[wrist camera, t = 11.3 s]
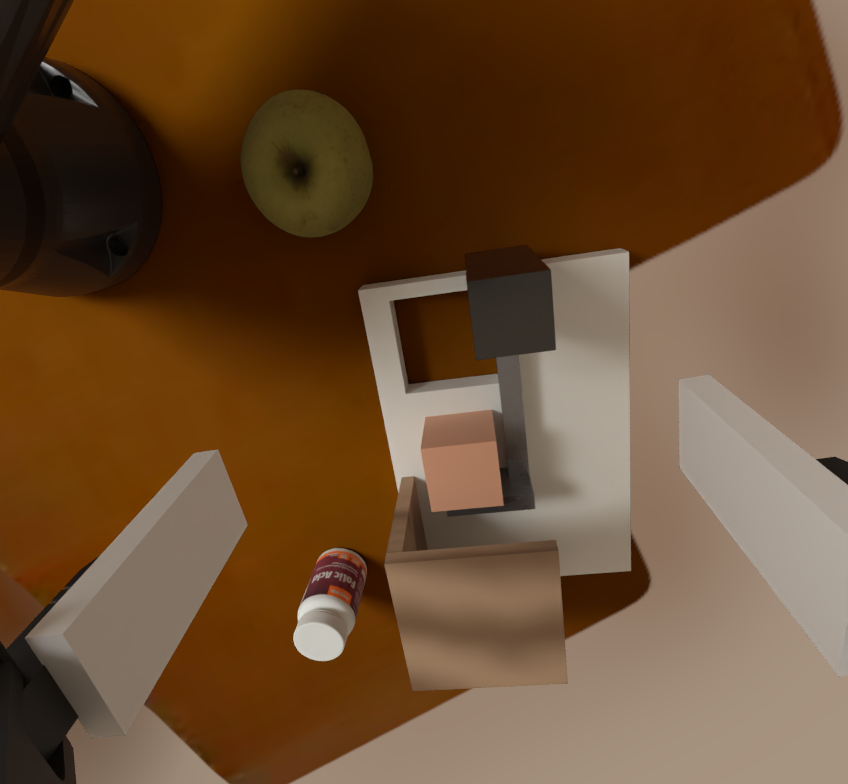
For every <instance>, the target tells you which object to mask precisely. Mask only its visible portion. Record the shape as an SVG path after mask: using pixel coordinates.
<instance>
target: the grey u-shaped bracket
mask: <svg viewBox="0 0 848 784" xmlns="http://www.w3.org/2000/svg"><path fill="white" fill-rule="evenodd" d="M465 262H466V282H467V290H468V298H469V306H470V314H471V322H472V330H473V339H474V347H475V355H476V360H481V359H489V358H496V365H497V374H498V383H499V392H500V401H501V410H502V420H503V429H504V438H505V447H506V456H507V465H508V467H506V468H499V469H500V477H501V486H502V495H503V503H504V506H494V507H482V508H471V509H460V510H449V511H447V516H448V517H452V516H463V515H474V514H485V513H496V512H508V511H519V510H530V509H535V499H534V492H533V488H532V483H531V479H530V473H529V462H528V452H527V441H526V430H525V419H524V408H523V397H522V386H521V376H520V365H519V355H521V354H529V353H537V352H545V351H553V350H556V340H555V325H554V309H553V293H552V278H551V269H550V268H549V267H548V266H547V265H546V264H545V263H544V262H543V261H542V260H541V259H540V258H539V257H538V256H537V255H536V254H535V253H534V252H533V251H532V250H531V249H530V248H529V247H528V246H527V245H522V246H516V247H509V248H502V249H496V250H489V251H483V252H476V253H469V254H465Z"/></svg>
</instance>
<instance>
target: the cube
mask: <svg viewBox="0 0 848 784" xmlns="http://www.w3.org/2000/svg"><path fill="white" fill-rule="evenodd" d="M421 455H422V461H423V466H424V472H425V478H426V483H427V489H428V495H429V500H430V506H431V511H432V512H438V511H449V510H460V509H471V508H482V507H494V506H504V503H503V495H502V486H501V477H500V469H499V460H498V451H497V443H496V435H495V427H494V420H493V412H492V410H483V411H474V412H465V413H456V414H447V415H438V416H429V417H425V422H424V429H423V435H422V442H421Z"/></svg>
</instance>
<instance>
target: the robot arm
mask: <svg viewBox="0 0 848 784" xmlns="http://www.w3.org/2000/svg"><path fill="white" fill-rule="evenodd" d="M73 1H74V0H0V289H1V290H8V291H16V292H23V293H31V294H38V295H46V296H56V297H68V296H79V295H84V294H89V293H92V292H95V291H99V290H102V289H105V288H109V287H111V286H114V285H116V284H118V283H120V282H122V281H124V280H125V279H127V278H128V277H130V276H131V275H132V274H133V273H135V272H136V271H137V270H138V269H139V268H140V266H141V265H142V264H143V263H144V261H145V260H146V259H147V257H148V255H149V254H150V252H151V250H152V248H153V246H154V243H155V241H156V238H157V234H158V231H159V226H160V219H161V191H160V185H159V179H158V175H157V171H156V167H155V164H154V161H153V158H152V155H151V153H150V151H149V148H148V146H147V144H146V142H145V140H144V138H143V136H142V134H141V133H140V131H139V129H138V128H137V126H136V124H135V123H134V121H133V120H132V119H131V117H130V116H129V114H128V113H127V112H126V111H125V109H124V108H123V107H122V106H121V105H120V103H119V102H118V101H117V100H116V99H115V98H114V97H113V96H112V95H111V94H110V93H109V92H108V91H107V90H105V89H104V88H103V87H102V86H101V85H99V84H98V83H97V82H95V81H94V80H93V79H91V78H90V77H88V76H87V75H85V74H84V73H82V72H80V71H79V70H77V69H75V68H73V67H71V66H69V65H66V64H64V63H61V62H59V61H56V60H52V59H49V58H46V57H45V56H46V54H47V52H48V50H49V48H50V46H51V44H52V42H53V40H54V38H55V36H56V34H57V32H58V30H59V28H60V26H61V24H62V22H63V20H64V18H65V16H66V14H67V12H68V10H69V8H70V6H71V5H72V3H73ZM679 468H680V469H681V471H682V472H683V473H684V475H685V476H686V477H687V478H688V480H689V481H690V482H691V484H692V485H693V486H694V488H695V489H696V490H697V492H698V493H699V494H700V496H701V497H702V498H703V499H704V501H705V502H706V503H707V505H708V506H709V507H710V508H711V510H712V511H713V513H714V514H715V515H716V517H717V518H718V519H719V520H720V522H721V523H722V524H723V526H724V527H725V528H726V530H727V531H728V532H729V534H730V535H731V536H732V538H733V539H734V540H735V541H736V543H737V544H738V545H739V547H740V548H741V549H742V551H743V552H744V553H745V555H746V556H747V557H748V559H749V560H750V561H751V562H752V564H753V565H754V566H755V567H756V569H757V570H758V572H759V573H760V574H761V576H762V577H763V578H764V579H765V581H766V582H767V583H768V585H769V586H770V587H771V589H772V590H773V591H774V592H775V594H776V595H777V597H778V598H779V599H780V600H781V602H782V603H783V604H784V606H785V607H786V608H787V609H788V611H789V612H790V614H791V615H792V616H793V618H794V619H795V620H796V621H797V623H798V624H799V625H800V627H801V628H802V629H803V631H804V632H805V633H806V635H807V636H808V637H809V638H810V640H811V641H812V642H813V644H814V645H815V646H816V648H817V649H818V650H819V652H820V653H821V654H822V655H823V657H824V658H825V659H826V661H827V662H828V663H829V665H830V666H831V667H832V669H833V670H834V671H835V673H836V674H837V675H838V676H839V677H840V676H848V462H846V461H844V460H841V459H839V458H837V457H830V458H823V459H814V458H813V457H812V456H811V455H809V454H808V453H807V452H806V451H804V450H803V449H802V448H801V447H799V446H798V445H797V444H796V443H794V442H793V441H792V440H790V439H789V438H788V437H787V436H785V435H784V434H783V433H782V432H780V431H779V430H778V429H777V428H775V427H774V426H773V425H772V424H770V423H769V422H768V421H766V420H765V419H764V418H763V417H762V416H760V415H759V414H758V413H757V412H755V411H754V410H753V409H752V408H750V407H749V406H748V405H747V404H745V403H744V402H743V401H741V400H740V399H739V398H738V397H736V396H735V395H734V394H733V393H731V392H730V391H729V390H728V389H726V388H725V387H724V386H722V385H721V384H720V383H719V382H718V381H716V380H715V379H714V378H713V377H711V376H710V375H703V376H697V377H690V378H684V379H679ZM247 525H248V524H247V522H246V519H245V517H244V514H243V512H242V509H241V507H240V504H239V502H238V499H237V497H236V494H235V492H234V489H233V486H232V484H231V481H230V479H229V476H228V474H227V471H226V469H225V466H224V464H223V461H222V459H221V456H220V454H219V451H218V450H211V451H205V452H198V453H194V454H193V455H192V456H191V457H190V458H189V459H188V460H187V461H186V462H185V464H184V465H183V466H182V467H181V468H180V469H179V470H178V471H177V472H176V473H175V474H174V476H173V477H172V478H171V479H170V480H169V481H168V482H167V483H166V484H165V485H164V486H163V488H162V489H161V490H160V491H159V492H158V493H157V494H156V495H155V496H154V497H153V498H152V500H151V501H150V502H149V503H148V504H147V505H146V506H145V507H144V508H143V509H142V510H141V512H140V513H139V514H138V515H137V516H136V517H135V518H134V519H133V520H132V521H131V522H130V524H129V525H128V526H127V527H126V528H125V529H124V530H123V531H122V532H121V533H120V534H119V536H118V537H117V538H116V539H115V540H114V541H113V542H112V543H111V544H110V545H109V546H108V548H107V549H106V550H105V551H104V552H103V553H102V554H101V555H100V556H98V557H97V558H96V559H94V560H93V561H92V562H90V563H89V564H88V565H86V566H85V567H83V568H82V569H81V570H80V571H79V572H78V573H77V574H76V575H75V576H74V577H73V578H72V579H71V580H70V582H69V583H68V584H67V585H66V586H65V590H61V591H60V592H59V593H58V594H57V595H56V597H55V598H54V599H53V600H52V604H48V605H47V606H46V607H45V608H44V609H43V611H42V612H41V613H40V614H39V615H38V616H37V617H36V618H35V619H34V620H33V621H32V622H31V623H30V624H29V625H28V627H27V628H26V629H25V630H24V631H23V632H22V633H21V634H20V635H19V636H18V637H17V638H16V639H15V641H14V642H13V643H12V644H11V645H10V646H9V647H8V648H7V649H5V647H4V646H3V644H2V643H1V642H0V784H76V775H75V765H74V753H73V747H72V746H71V743H70V741H69V740H68V738H67V737H66V734H67V733H68V731H69V730H70V728H71V727H72V725H73V724H74V723H75V721H76V720H77V718H78V719H79V721H80V723H81V724H82V725H83V727H84V729H85V730H86V732H87V733H88V735H89V736H90V737H91V738H99V737H112V736H124V735H126V734H127V732H128V731H129V729H130V727H131V725H132V723H133V722H134V720H135V718H136V717H137V715H138V713H139V711H140V709H141V708H142V706H143V705H144V703H145V701H146V699H147V698H148V696H149V694H150V693H151V691H152V689H153V687H154V686H155V684H156V682H157V680H158V679H159V677H160V675H161V674H162V672H163V670H164V668H165V667H166V665H167V663H168V661H169V660H170V658H171V656H172V655H173V653H174V651H175V649H176V648H177V646H178V644H179V642H180V641H181V639H182V637H183V636H184V634H185V632H186V630H187V629H188V627H189V625H190V623H191V622H192V620H193V618H194V617H195V615H196V613H197V611H198V610H199V608H200V606H201V604H202V603H203V601H204V599H205V598H206V596H207V594H208V592H209V591H210V589H211V587H212V586H213V584H214V582H215V580H216V579H217V577H218V575H219V573H220V572H221V570H222V568H223V567H224V565H225V563H226V561H227V560H228V558H229V556H230V554H231V553H232V551H233V549H234V548H235V546H236V544H237V542H238V541H239V539H240V537H241V535H242V534H243V532H244V530H245V529H246V527H247Z"/></svg>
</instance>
